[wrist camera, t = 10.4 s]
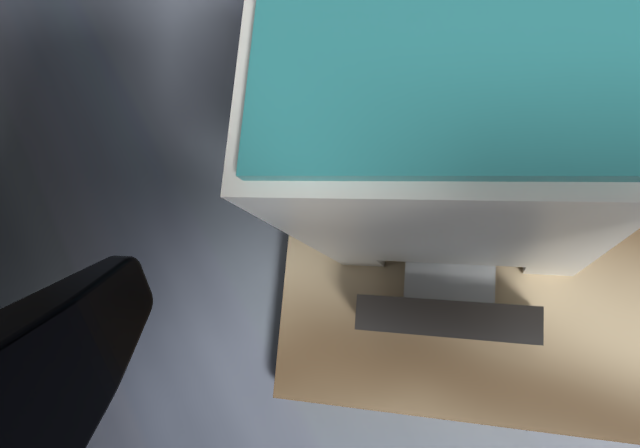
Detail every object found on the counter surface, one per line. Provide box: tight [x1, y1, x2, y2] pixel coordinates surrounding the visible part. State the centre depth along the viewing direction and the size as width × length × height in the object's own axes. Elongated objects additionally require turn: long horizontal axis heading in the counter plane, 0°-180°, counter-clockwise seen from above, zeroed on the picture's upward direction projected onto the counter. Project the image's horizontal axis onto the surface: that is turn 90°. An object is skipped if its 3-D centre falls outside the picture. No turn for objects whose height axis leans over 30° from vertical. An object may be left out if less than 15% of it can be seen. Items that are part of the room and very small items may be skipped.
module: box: [220, 0, 640, 276], centre depth 13 cm, size 5×7×9 cm
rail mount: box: [273, 229, 640, 445], centre depth 17 cm, size 14×11×3 cm
